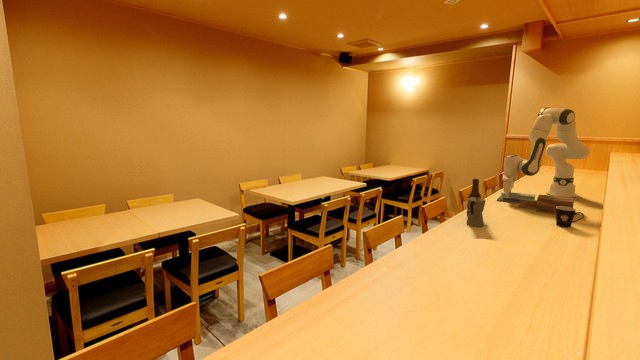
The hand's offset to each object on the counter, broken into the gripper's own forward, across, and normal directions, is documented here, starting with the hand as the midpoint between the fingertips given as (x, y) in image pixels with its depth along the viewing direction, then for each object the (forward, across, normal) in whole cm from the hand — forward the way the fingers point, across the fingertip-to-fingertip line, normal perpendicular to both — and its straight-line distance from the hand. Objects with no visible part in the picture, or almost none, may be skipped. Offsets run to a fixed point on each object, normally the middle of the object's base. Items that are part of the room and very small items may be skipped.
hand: (508, 195), depth 225 cm
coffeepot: (+4, +70, -6) cm, 70 cm away
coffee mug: (+4, +45, +35) cm, 57 cm away
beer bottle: (+4, +55, -10) cm, 56 cm away
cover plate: (0, 0, +6) cm, 6 cm away
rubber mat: (+3, 0, +7) cm, 8 cm away
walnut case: (+3, +15, +23) cm, 27 cm away
